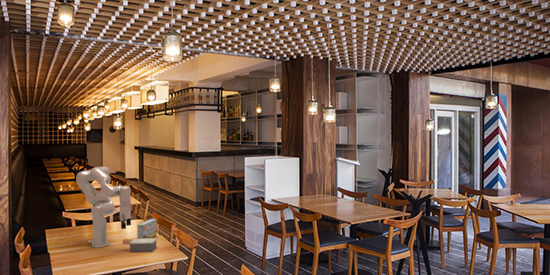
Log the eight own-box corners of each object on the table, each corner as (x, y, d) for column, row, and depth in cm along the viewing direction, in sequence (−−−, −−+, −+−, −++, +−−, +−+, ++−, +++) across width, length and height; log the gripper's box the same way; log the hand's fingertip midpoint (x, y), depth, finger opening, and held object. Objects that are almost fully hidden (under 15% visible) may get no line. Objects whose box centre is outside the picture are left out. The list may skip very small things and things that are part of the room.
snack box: (143, 244, 304) (143, 224, 304) (137, 244, 305) (136, 224, 305) (157, 236, 325) (156, 218, 324) (151, 236, 326) (150, 218, 326)
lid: (120, 246, 285) (120, 241, 284) (126, 241, 295) (126, 237, 295) (152, 245, 285) (152, 241, 284) (156, 241, 295) (156, 237, 295)
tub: (129, 252, 285) (129, 243, 285) (134, 247, 295) (134, 239, 295) (152, 251, 285) (152, 243, 285) (156, 247, 295) (156, 239, 295)
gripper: (124, 201, 298) (125, 224, 298) (115, 206, 280) (116, 230, 281) (134, 201, 298) (135, 224, 298) (126, 205, 280) (126, 229, 281)
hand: (126, 227), depth 289 cm, fingers open, 9 cm apart
